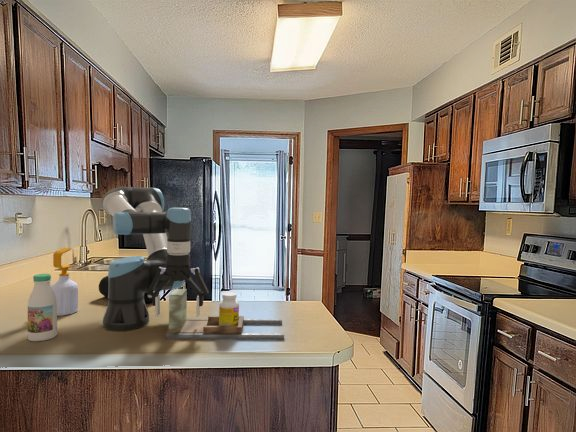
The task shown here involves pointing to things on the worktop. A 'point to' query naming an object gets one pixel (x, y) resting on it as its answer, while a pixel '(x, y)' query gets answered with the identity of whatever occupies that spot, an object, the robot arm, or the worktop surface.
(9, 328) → the worktop surface
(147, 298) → the portable speaker
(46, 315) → the milk bottle
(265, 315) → the worktop surface
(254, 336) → the lane rails
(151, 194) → the robot arm
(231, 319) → the supplement bottle
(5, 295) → the worktop surface
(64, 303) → the soap bottle
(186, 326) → the wooden holder tray
